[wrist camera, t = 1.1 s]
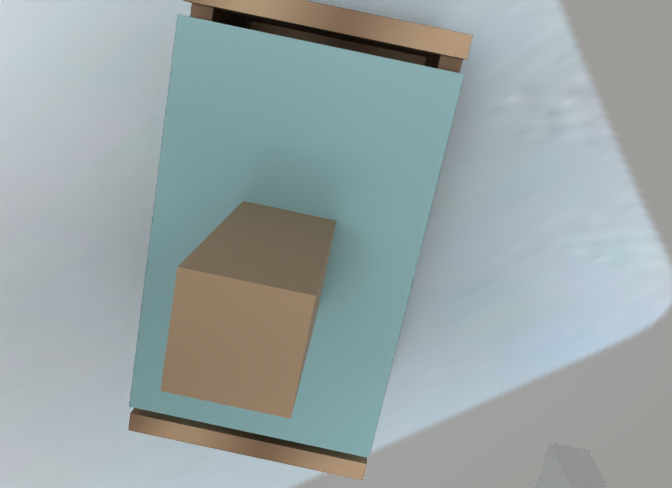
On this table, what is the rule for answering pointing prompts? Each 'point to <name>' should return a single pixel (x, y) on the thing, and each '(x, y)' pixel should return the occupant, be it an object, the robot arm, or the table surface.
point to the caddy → (341, 32)
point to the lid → (286, 232)
